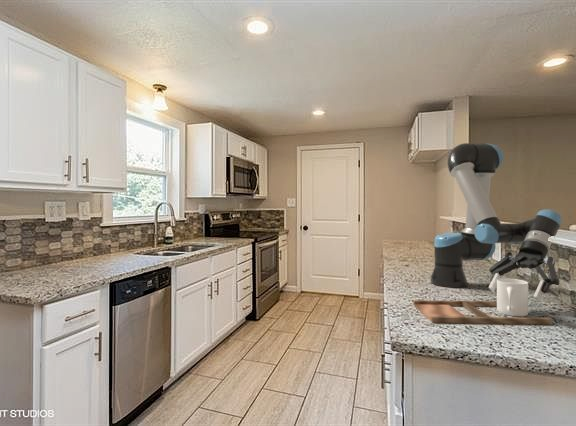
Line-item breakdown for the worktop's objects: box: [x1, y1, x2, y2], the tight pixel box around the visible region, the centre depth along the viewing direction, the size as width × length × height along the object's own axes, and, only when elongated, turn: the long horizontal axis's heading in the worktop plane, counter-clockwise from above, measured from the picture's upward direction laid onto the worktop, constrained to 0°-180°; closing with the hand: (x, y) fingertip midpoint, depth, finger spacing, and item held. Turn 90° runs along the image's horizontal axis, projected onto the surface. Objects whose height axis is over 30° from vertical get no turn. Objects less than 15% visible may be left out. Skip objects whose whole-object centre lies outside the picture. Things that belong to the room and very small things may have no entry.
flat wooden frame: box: [412, 299, 553, 325], centre depth 105 cm, size 35×18×2 cm, turn 85°
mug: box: [496, 277, 529, 317], centre depth 104 cm, size 9×12×11 cm
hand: (512, 294), depth 104 cm, fingers open, 13 cm apart
